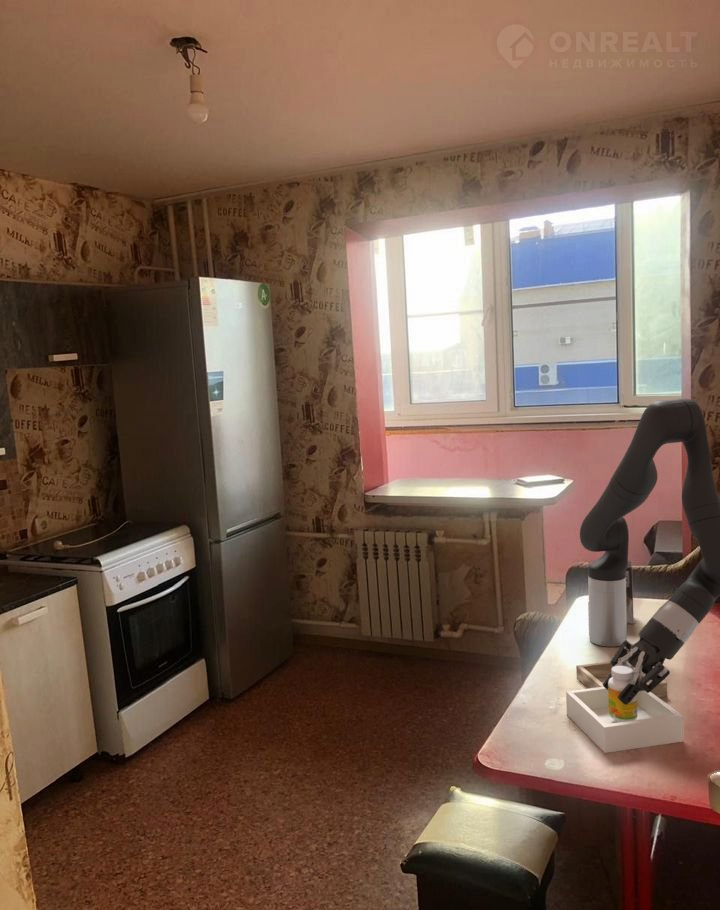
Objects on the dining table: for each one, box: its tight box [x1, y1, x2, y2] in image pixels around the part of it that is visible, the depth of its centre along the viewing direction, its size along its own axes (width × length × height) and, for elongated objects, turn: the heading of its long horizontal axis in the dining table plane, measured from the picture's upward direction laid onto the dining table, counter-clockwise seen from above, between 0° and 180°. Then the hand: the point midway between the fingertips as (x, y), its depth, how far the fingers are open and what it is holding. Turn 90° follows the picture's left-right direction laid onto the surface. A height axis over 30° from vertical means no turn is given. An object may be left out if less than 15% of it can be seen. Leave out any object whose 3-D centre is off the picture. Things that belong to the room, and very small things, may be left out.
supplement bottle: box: [608, 666, 637, 722], centre depth 145 cm, size 5×5×10 cm
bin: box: [565, 687, 684, 754], centre depth 145 cm, size 16×16×5 cm
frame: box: [575, 659, 668, 698], centre depth 164 cm, size 14×14×3 cm
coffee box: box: [626, 561, 635, 624], centre depth 206 cm, size 9×6×16 cm
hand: (614, 694), depth 145 cm, fingers closed on supplement bottle, 5 cm apart
